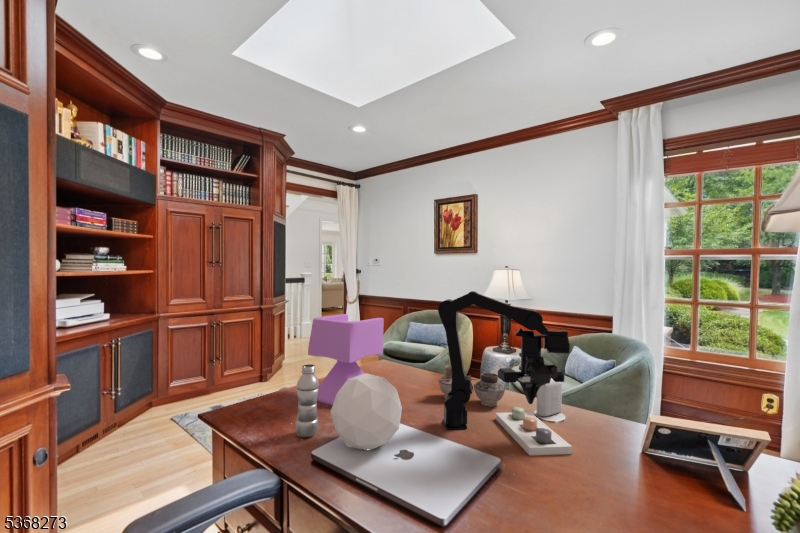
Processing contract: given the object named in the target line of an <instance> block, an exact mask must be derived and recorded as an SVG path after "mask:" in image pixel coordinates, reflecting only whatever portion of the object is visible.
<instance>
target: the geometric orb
mask: <svg viewBox="0 0 800 533" xmlns="http://www.w3.org/2000/svg"><path fill="white" fill-rule="evenodd" d="M402 411H403V407H402V402H401V399H400V397H399V392H398V389H397V388H396V387H395V386H394V385H393V384H392V383H391V382H389V380H387V379H386V378H385V377H383V376H378V375H376V374H375V375H374V374H372V373H371V374H370V373H367V372H366V373H365V372H364V374H362V375H359V376H356V377H353V378H350V379H348V380H347V381H346V382H345V384H344V385H343V386H342V387H341V389H340V390H339V391H338V393H337V394H336V397H335V400H334V403H333V405H331V410H330V412H329V414H330V417H331V420H332V422H333V425H334V429H335V431H336V434H337V435H338V436H339V438H341V440H342V441H343V442H344V443H345V445H346V446H347V447H349V448H354V449H357V448H358V449H357V450H362V449H365V450H364V451H366V450H367V449H371V450H374V449H376V448H378V446H379V447H380V446H383V445H385V444H388V443H389V441H390V440H391V439H392V437H394V435H395V434H396V433H397V432H398V431H399V429H400V426H401V425H400V424H401V418H402ZM373 448H374V449H373Z"/></svg>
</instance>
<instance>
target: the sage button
mask: <svg viewBox="0 0 800 533" xmlns="http://www.w3.org/2000/svg"><path fill="white" fill-rule="evenodd" d="M525 412H526V409H524V408H523V407H520V406H515V407H511V413H512V419H513V420H514V421H520V420H523V418H524V417H525Z"/></svg>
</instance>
